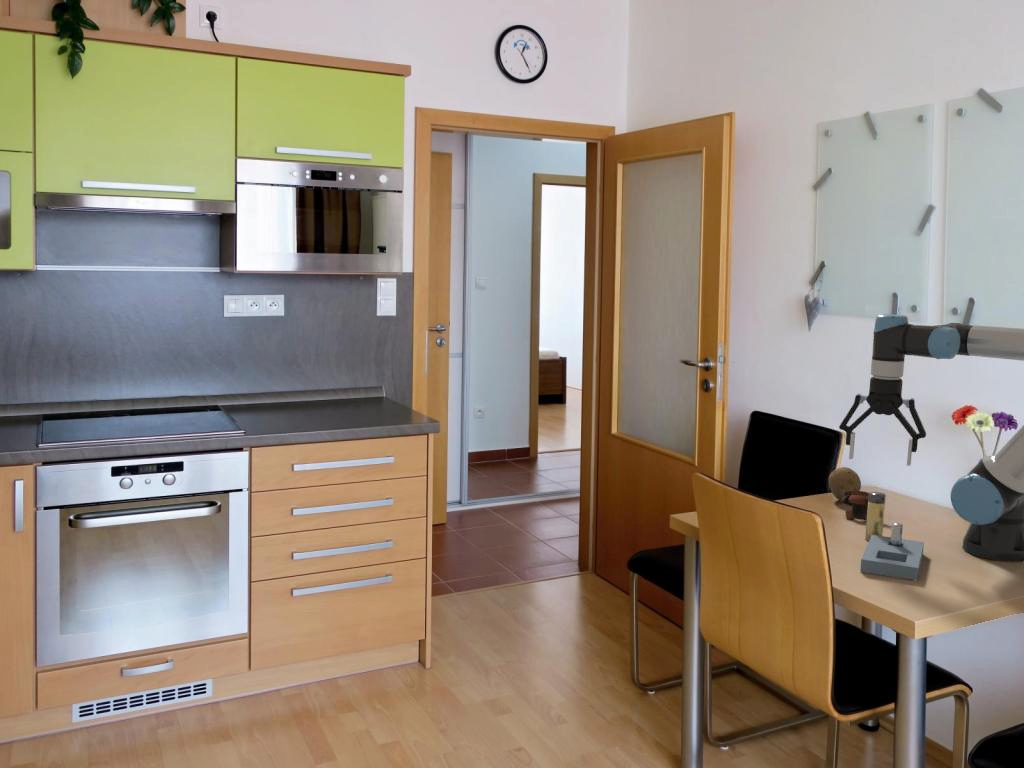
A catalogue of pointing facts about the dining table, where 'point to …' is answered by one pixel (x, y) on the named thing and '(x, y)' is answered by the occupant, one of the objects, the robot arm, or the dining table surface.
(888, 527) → the dining table surface
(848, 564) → the dining table surface
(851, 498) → the pottery mug
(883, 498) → the spice jar
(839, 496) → the natural sponge
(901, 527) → the silver metal dowel pin
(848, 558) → the dining table surface
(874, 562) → the block
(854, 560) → the dining table surface
